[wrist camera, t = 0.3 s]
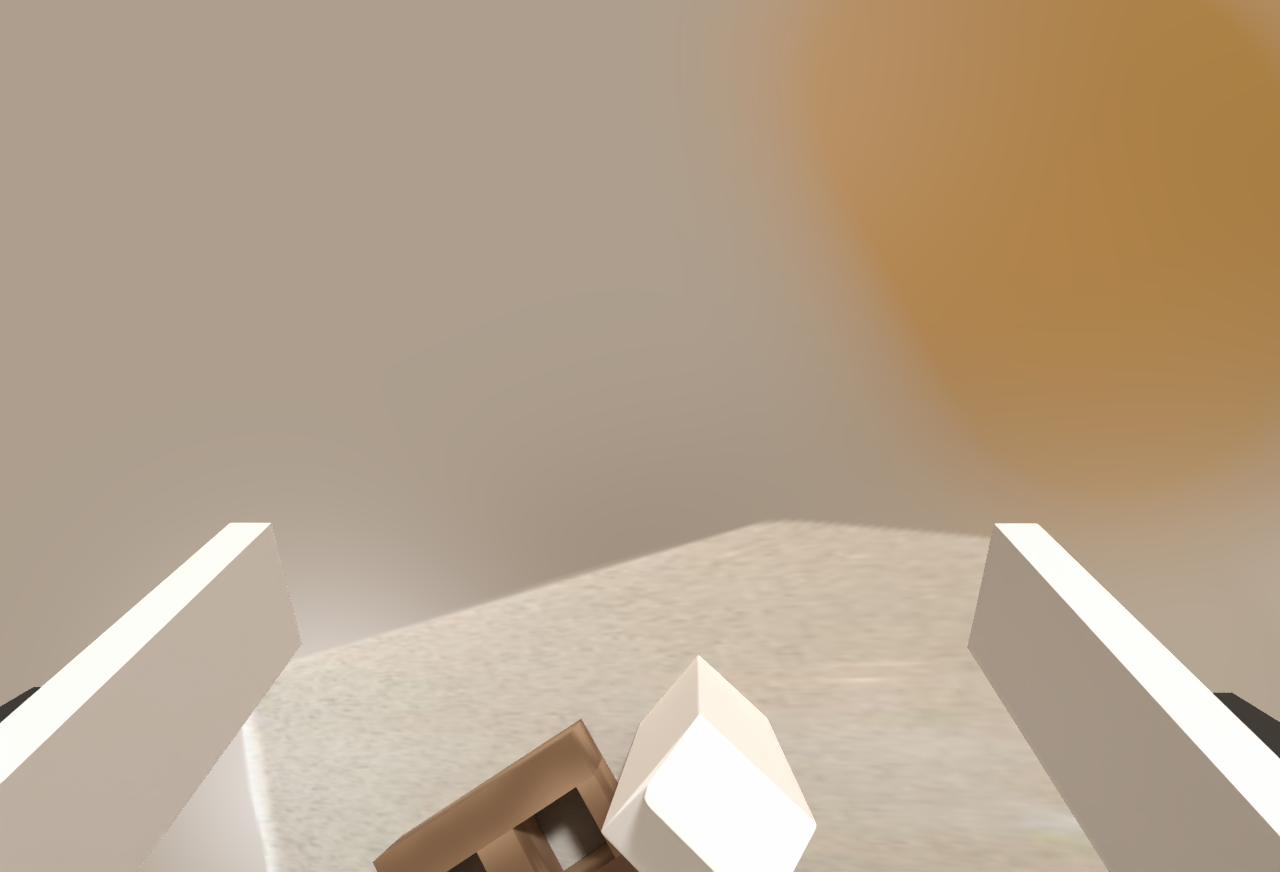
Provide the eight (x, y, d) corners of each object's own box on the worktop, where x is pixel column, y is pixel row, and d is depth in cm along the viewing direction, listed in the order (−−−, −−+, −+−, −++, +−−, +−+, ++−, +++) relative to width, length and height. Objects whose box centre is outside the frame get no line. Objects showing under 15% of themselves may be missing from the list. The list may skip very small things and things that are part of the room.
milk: (698, 654, 46) (700, 726, 24) (768, 719, 44) (838, 856, 23) (637, 725, 45) (584, 865, 23) (707, 793, 44) (719, 1006, 22)
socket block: (662, 861, 43) (658, 891, 39) (474, 986, 43) (452, 1028, 39) (581, 719, 45) (570, 733, 41) (401, 836, 45) (372, 862, 41)
